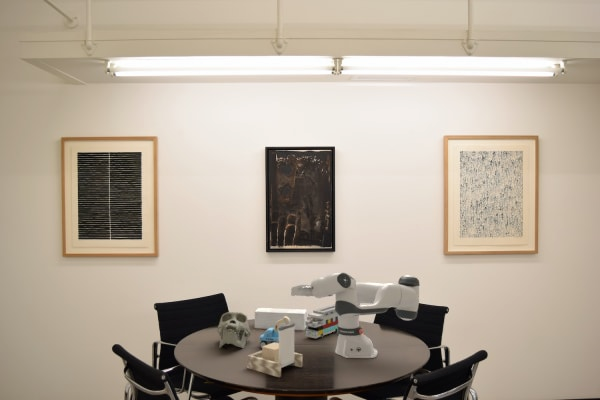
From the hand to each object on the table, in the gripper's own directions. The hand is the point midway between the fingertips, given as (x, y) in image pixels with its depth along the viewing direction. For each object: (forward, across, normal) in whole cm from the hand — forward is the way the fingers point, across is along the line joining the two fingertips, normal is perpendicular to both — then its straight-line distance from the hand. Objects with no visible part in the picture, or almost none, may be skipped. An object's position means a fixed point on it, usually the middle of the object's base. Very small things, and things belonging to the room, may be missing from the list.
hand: (299, 294), depth 230 cm
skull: (+65, +6, -15) cm, 67 cm away
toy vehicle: (+44, +60, -13) cm, 75 cm away
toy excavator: (+46, +21, -19) cm, 54 cm away
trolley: (+23, +1, -31) cm, 39 cm away
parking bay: (+24, +1, -31) cm, 39 cm away
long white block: (+72, +50, -5) cm, 88 cm away
